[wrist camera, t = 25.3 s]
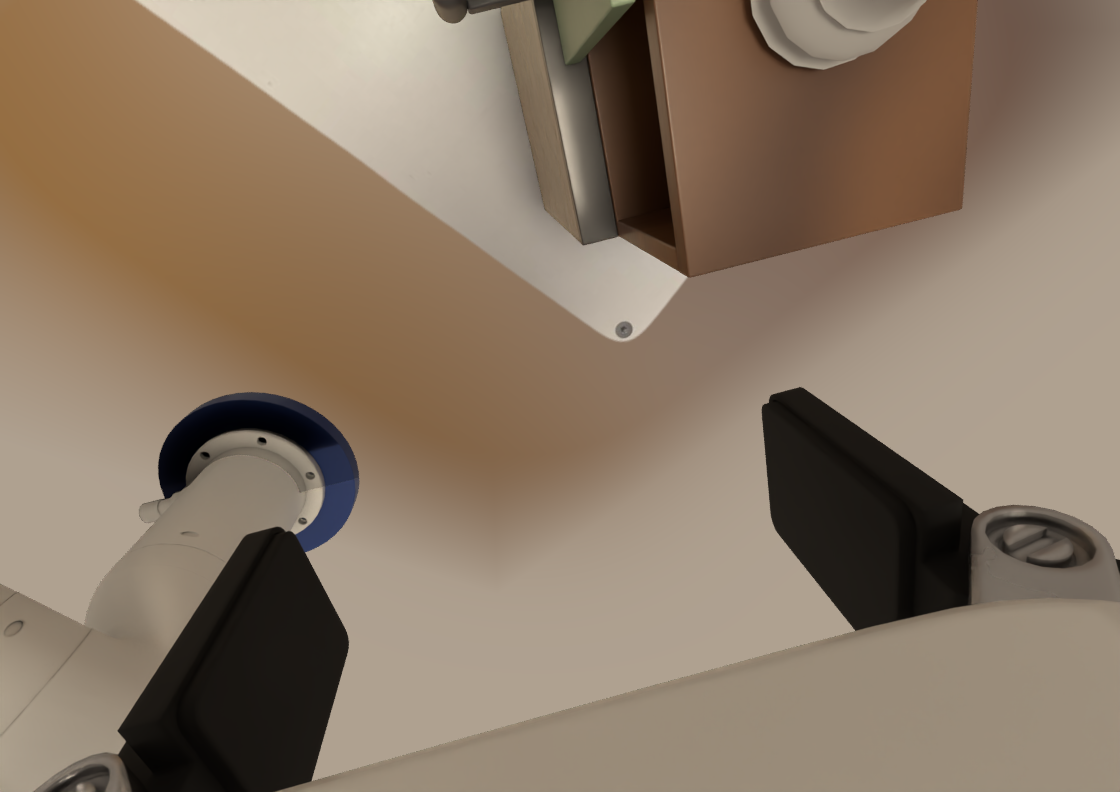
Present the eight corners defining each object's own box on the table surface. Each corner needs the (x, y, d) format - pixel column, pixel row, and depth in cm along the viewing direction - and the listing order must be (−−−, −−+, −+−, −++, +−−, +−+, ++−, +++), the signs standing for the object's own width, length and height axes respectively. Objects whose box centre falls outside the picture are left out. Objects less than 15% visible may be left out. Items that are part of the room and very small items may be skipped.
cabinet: (544, 210, 46) (633, 292, 17) (500, 12, 40) (523, -349, 12) (671, 179, 46) (962, 209, 17) (644, -23, 40) (1014, -462, 12)
